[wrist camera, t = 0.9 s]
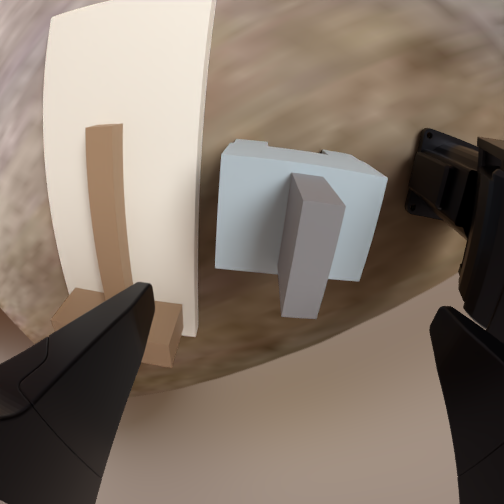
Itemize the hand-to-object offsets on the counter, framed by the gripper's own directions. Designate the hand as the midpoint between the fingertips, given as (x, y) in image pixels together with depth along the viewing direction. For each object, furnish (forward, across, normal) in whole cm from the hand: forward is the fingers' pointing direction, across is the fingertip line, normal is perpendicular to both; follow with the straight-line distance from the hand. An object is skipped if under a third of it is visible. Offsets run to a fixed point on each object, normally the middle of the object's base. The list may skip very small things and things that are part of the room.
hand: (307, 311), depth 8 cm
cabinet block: (+13, 0, 0) cm, 13 cm away
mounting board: (+13, +12, 0) cm, 17 cm away
